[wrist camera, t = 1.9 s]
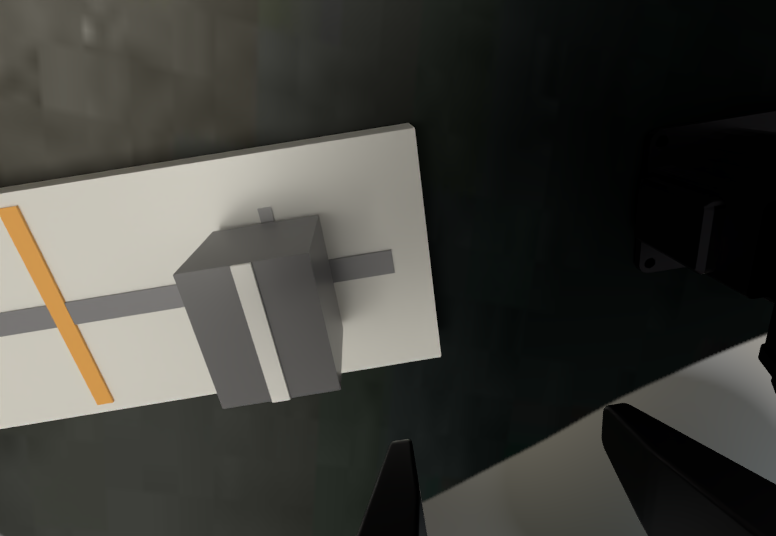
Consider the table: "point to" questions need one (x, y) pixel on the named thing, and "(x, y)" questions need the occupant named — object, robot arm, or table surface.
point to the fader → (265, 311)
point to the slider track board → (177, 243)
